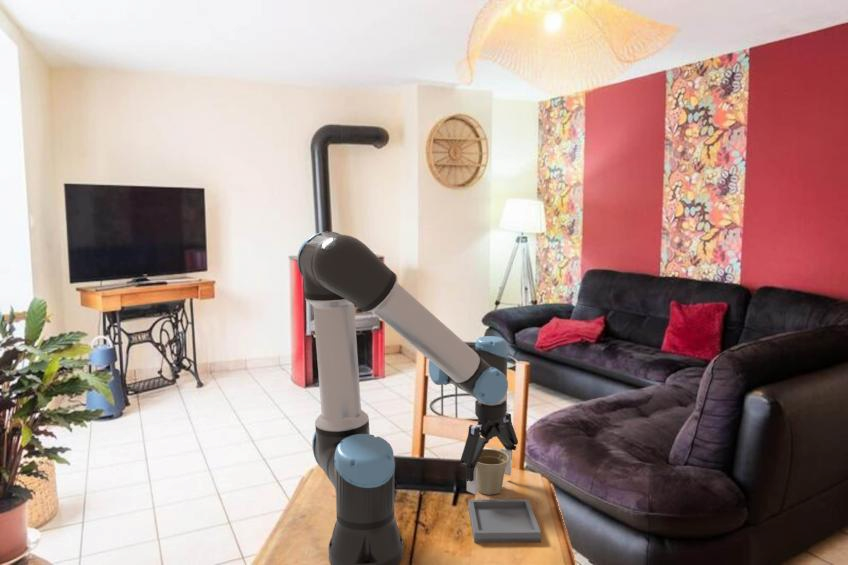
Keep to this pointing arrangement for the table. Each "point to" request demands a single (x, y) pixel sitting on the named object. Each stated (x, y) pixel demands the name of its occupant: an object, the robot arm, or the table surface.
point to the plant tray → (503, 521)
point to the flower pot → (491, 471)
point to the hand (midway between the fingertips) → (489, 482)
